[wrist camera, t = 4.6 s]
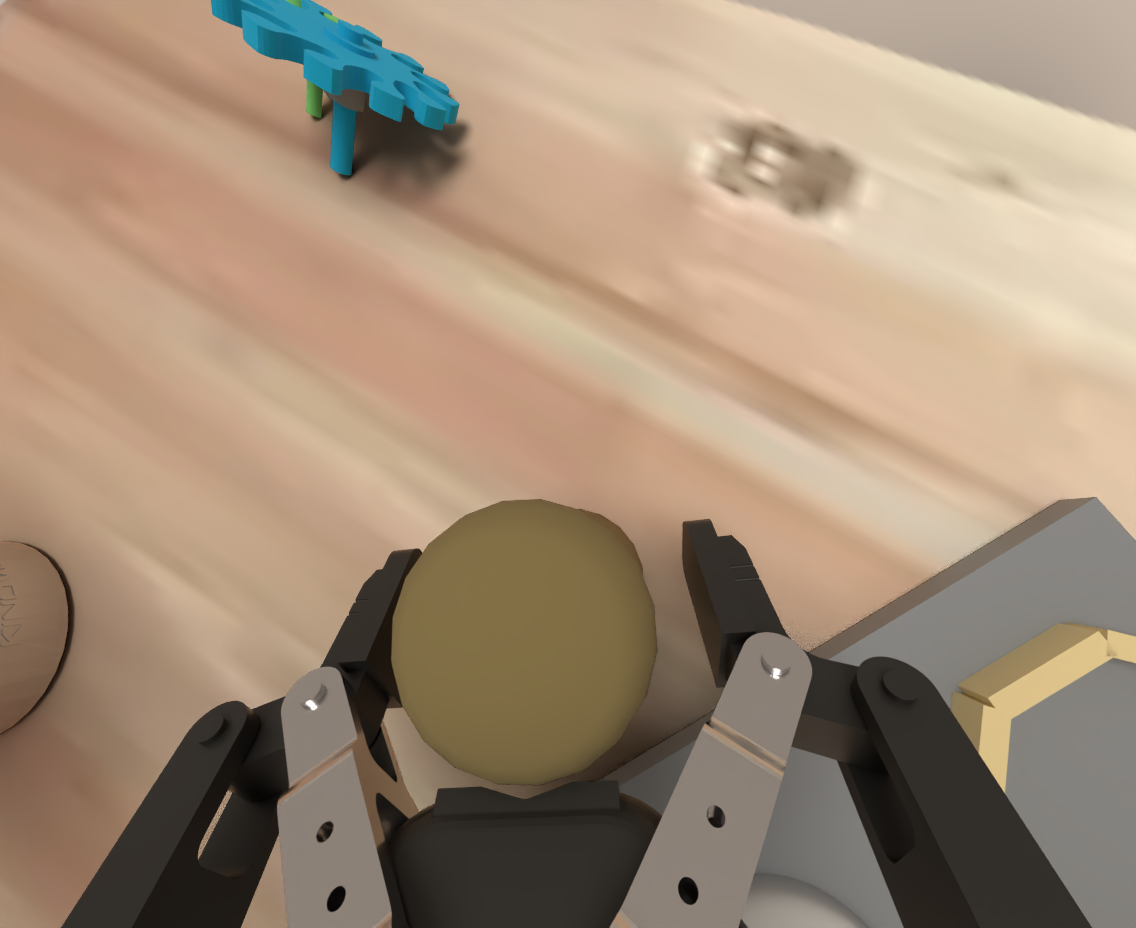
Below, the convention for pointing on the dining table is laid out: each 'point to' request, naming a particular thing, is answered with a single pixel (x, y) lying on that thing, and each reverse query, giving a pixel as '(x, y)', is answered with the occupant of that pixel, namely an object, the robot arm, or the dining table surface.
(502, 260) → the dining table surface
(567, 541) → the cork
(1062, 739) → the board
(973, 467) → the dining table surface
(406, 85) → the blue irregular piece
